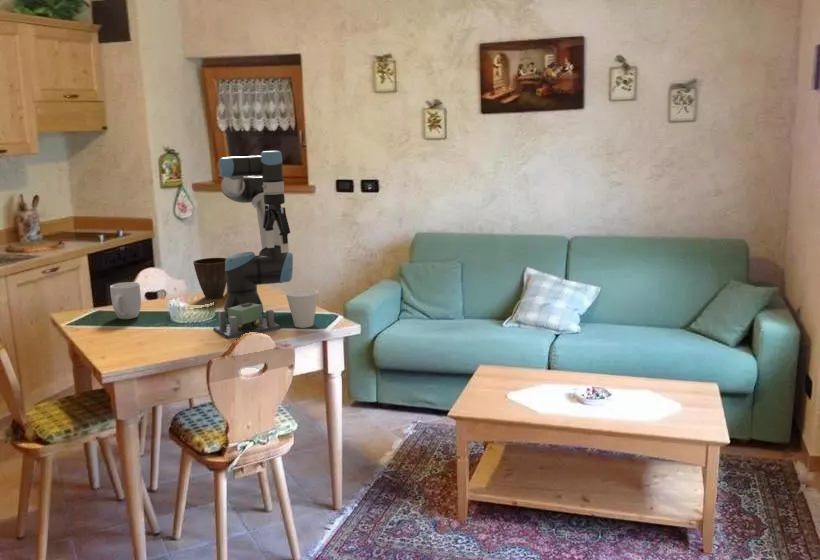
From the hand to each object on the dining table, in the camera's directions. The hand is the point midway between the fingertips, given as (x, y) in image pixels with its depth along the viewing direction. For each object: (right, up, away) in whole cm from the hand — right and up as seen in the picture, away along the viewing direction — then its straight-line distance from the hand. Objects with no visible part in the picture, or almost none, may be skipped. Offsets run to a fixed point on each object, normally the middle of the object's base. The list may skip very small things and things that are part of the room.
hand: (277, 250), depth 289 cm
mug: (-61, -26, +14) cm, 68 cm away
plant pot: (-35, -19, +46) cm, 61 cm away
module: (-10, -26, -9) cm, 29 cm away
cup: (+11, -28, -4) cm, 30 cm away
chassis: (-10, -29, -8) cm, 32 cm away
